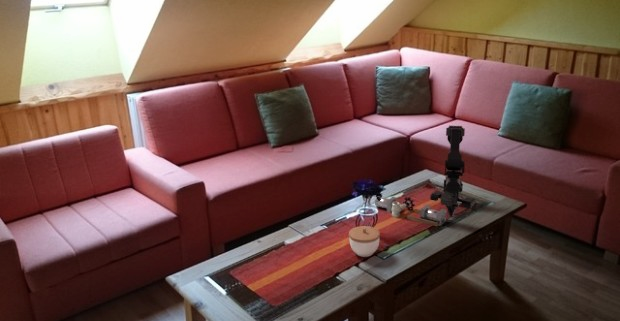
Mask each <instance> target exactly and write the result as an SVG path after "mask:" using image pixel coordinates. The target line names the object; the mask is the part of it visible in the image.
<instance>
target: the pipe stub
mask: <svg viewBox="0 0 620 321" xmlns="http://www.w3.org/2000/svg"><path fill="white" fill-rule="evenodd" d="M380 197H381V200H380V201H378V200H377V197H376V198H375V199H374V200H375V201H374V206H375V207H378V208H383V209H386V212H387V213H389V214H392V210H391V209H392V203H393V202H397V199H398V198H397V197H395V196H392V197H391V198H385V197H382V196H380Z"/></svg>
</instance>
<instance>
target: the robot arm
mask: <svg viewBox="0 0 620 321" xmlns="http://www.w3.org/2000/svg"><path fill="white" fill-rule="evenodd" d="M445 129H446V130H445V131H446V132H445V136H447V137H446V138H447V139H446V140H447V141H448V144H449V145H450V146H449V147H450V148H449V152H448V153H447V155H446V157H447V158H446V159H445V161H444V176H445V179H444V180H443V190H442V191H440V190H435V191H433V192H432V193H431V194H430V196H429V198H430V199H429V200H430V201H433V202H437V201H439V200H440V205H442V206H445V207H446V208H447V209H446V210H447V211H448V215H449V217H451V218H453V216H454V215H455V212H456V210H457V208H459V207H460V206H461V207H462V208H464V209H465V208H466V209H472V208H473V207H474V205H475V204H476V201H475V198H473V197H468V196H465V197H464V198H461V194H460V193H462V192H463V188H464V186H463V185H464V183H463V181H462V180H461V177H463V176H464V174H465V165H466V164H465V161H464V160H463V157H462V156H463V155H462V154H461V153H460V146H461V145H460V144H461V143H462V141H463V140H464V137H465V134H466V129H465V128H464V127H463V125H448V127H446V128H445Z"/></svg>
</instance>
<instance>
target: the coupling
mask: <svg viewBox="0 0 620 321" xmlns="http://www.w3.org/2000/svg"><path fill="white" fill-rule="evenodd" d="M420 210H421V213H419V215H420V216H419V218H421V219H425V220H429V221H433V222H437V223H438V226H442V225H443V224H444V223H446V221H447V209H445V208H441V209H439V210H437V209H432V208H431V205H429V204H425V205H424V206H422V207H421V208H420Z"/></svg>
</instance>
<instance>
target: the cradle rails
mask: <svg viewBox="0 0 620 321" xmlns="http://www.w3.org/2000/svg"><path fill="white" fill-rule="evenodd" d="M414 213H416V214H420V213H421V209H419V208H415V209H414ZM406 219H407V220H410V221H411V220H412V221H413V222H418V223H422V224H427V225H430V226H435V227H438V226H439V225H438V223H437V221H434V220H430V219H427V220H425V219H421V218H420V217H416V216H412V215H408V214H407V215H406Z"/></svg>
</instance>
